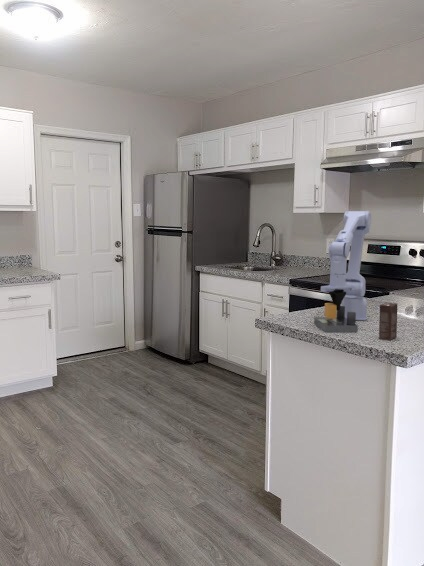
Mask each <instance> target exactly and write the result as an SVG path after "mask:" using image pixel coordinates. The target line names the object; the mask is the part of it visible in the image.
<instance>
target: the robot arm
mask: <svg viewBox="0 0 424 566" xmlns="http://www.w3.org/2000/svg"><path fill="white" fill-rule="evenodd" d="M343 224H344V226H343V229H341V230H340V231H339V232H338V234H337V236H336V238H335V240H334V241H332V242H331V243H329V246H328V255H329V262H330V267H329V269H330V270H329V271H330V272H329V284H328V285H321V286H320V292H323V293H327V292H328V294H329V296H330V298H331V301H332V303H333V304H335V305H337V310H336V312H337V311H339V310H340V306H345V318H347V312H355V313H356V321H367V320H368V319H367V309H368V303H367V302H368V301H367V299H366V297H364V296H365V294H366V282H367V281H366V279H365V277H364V276H362V274H360V272H361V271H360V270H361V265H362V258H363V257H362V256H363V250H364V249H363V248H364V247H363V246H364V241H365V236H366V234H368V233H370V229H371V224H372V214H371V211H370V210H364V211H363V210H361V211H360V210H357V211H356V210H346V211H345V212H344V213H343ZM348 257H349V259H348ZM347 260H348V263H347ZM347 265H348V267H347Z"/></svg>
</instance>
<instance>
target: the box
mask: <svg viewBox="0 0 424 566" xmlns="http://www.w3.org/2000/svg"><path fill="white" fill-rule="evenodd" d="M378 323H379V326H378V327H379V328H378V332H379V333H378V339H380V340H385V341H386V340H387V341H392V340H393V339H395V338H397V334H398V332H397V331H398V303H396V302H395V303H394V302H384V303H382V304H380V305H379V321H378Z"/></svg>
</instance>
